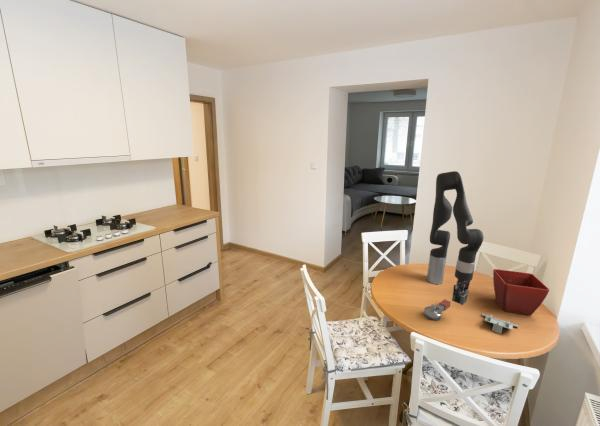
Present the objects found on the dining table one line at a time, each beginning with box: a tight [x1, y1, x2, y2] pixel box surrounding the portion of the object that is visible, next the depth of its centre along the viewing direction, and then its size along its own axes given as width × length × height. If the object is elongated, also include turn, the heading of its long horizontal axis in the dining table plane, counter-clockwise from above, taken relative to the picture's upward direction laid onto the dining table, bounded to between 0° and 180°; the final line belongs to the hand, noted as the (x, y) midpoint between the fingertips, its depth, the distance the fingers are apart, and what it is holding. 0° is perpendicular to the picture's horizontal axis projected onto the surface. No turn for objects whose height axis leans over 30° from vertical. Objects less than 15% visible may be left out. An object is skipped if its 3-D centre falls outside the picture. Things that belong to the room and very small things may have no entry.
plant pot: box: [492, 268, 550, 316], centre depth 157 cm, size 19×19×17 cm
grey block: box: [451, 289, 469, 306], centre depth 146 cm, size 5×5×6 cm
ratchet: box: [423, 299, 452, 322], centre depth 153 cm, size 20×8×6 cm, turn 129°
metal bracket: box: [481, 313, 519, 334], centre depth 143 cm, size 14×6×15 cm
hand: (459, 300), depth 147 cm, fingers closed on grey block, 5 cm apart
